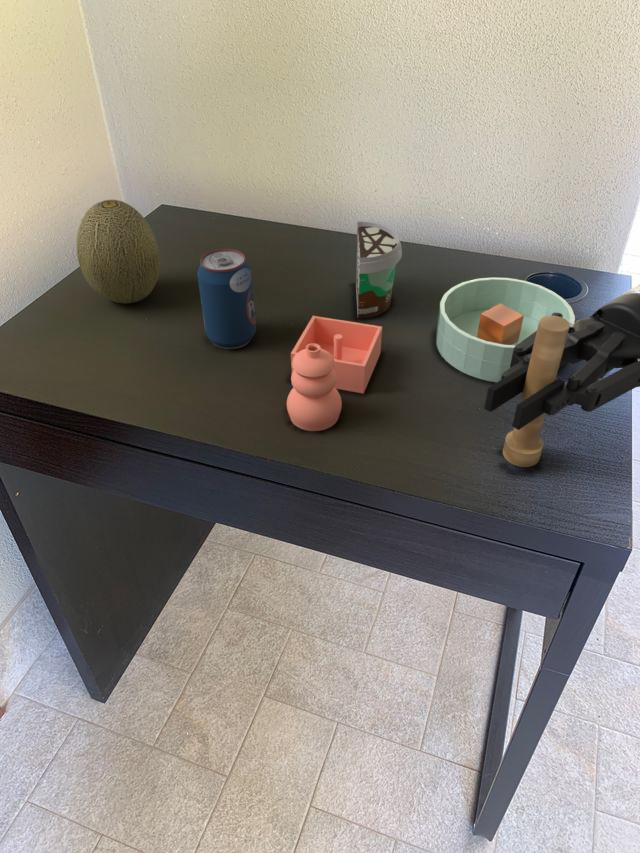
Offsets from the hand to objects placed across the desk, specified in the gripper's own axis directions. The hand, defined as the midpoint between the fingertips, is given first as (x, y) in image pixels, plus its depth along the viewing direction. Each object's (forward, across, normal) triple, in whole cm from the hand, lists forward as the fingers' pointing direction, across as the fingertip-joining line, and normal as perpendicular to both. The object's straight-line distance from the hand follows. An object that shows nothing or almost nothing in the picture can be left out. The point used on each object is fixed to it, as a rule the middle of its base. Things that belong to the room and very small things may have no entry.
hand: (503, 408), depth 66 cm
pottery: (+2, +24, -11) cm, 26 cm away
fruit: (+11, +60, -11) cm, 62 cm away
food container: (-17, +35, -10) cm, 40 cm away
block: (-22, +17, -10) cm, 29 cm away
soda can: (+5, +41, -11) cm, 43 cm away
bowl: (-22, +16, -10) cm, 29 cm away
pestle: (-5, 0, -10) cm, 11 cm away
